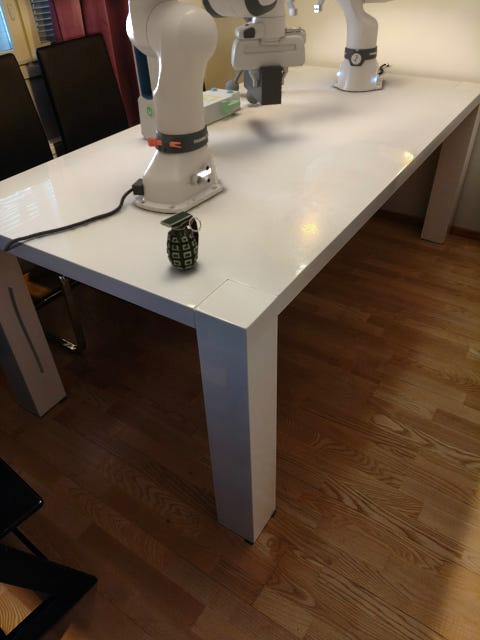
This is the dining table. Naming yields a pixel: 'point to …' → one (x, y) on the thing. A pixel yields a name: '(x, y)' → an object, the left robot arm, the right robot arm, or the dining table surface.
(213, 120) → the decorative block
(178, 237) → the grenade
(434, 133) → the dining table surface
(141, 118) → the electronic device
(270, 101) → the bar
